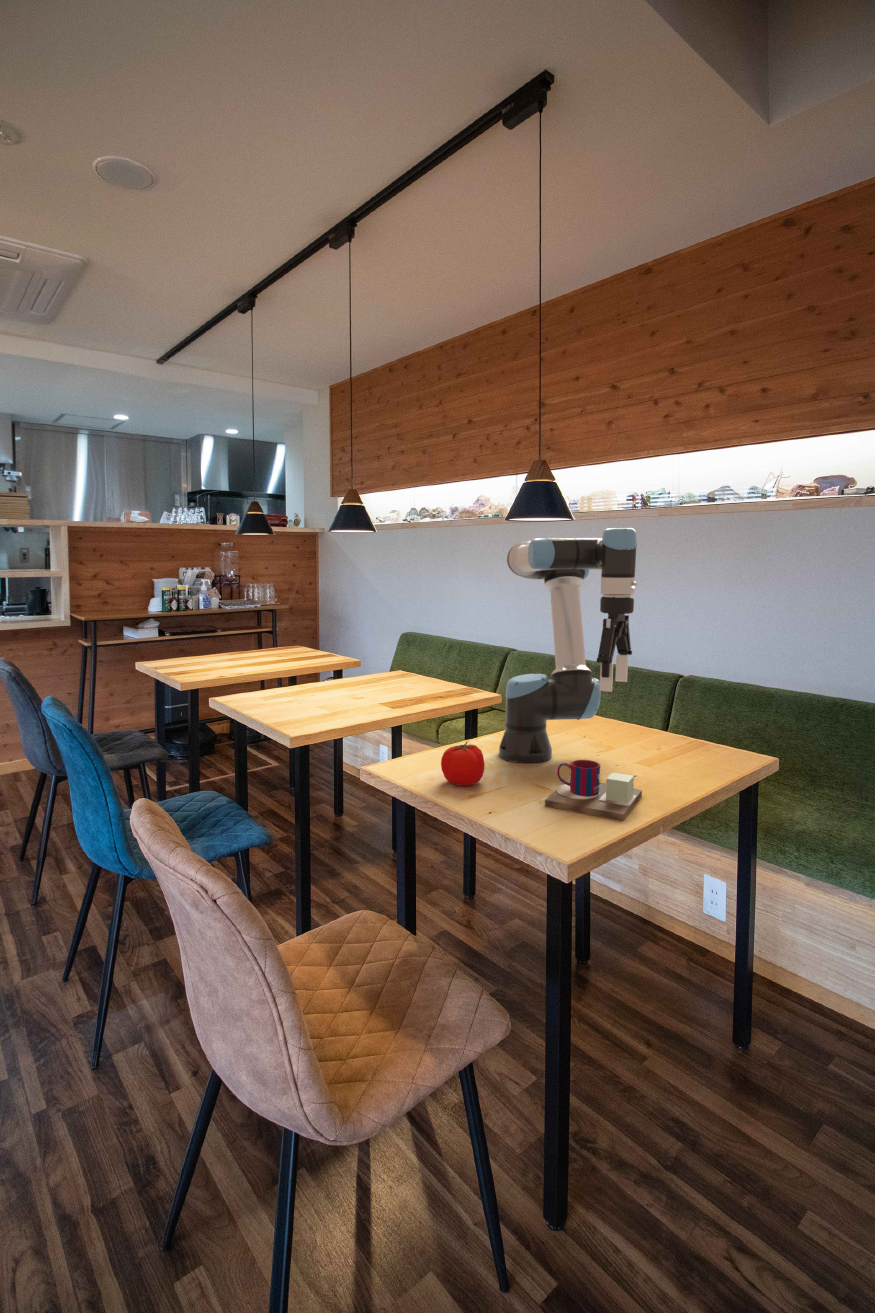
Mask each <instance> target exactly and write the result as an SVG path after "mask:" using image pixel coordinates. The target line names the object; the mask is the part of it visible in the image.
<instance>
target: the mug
mask: <svg viewBox="0 0 875 1313" xmlns="http://www.w3.org/2000/svg"><path fill="white" fill-rule="evenodd" d="M562 766H566V767H568V768H569V769H570V777H569V778H570V783H569V782H566V781H567V780H565V779H564V778H562V776H561V774H560V773H561V772H560V769H561V767H562ZM556 773H557V778H558V780H559V781H560V782H561V783H562V784H563V783H564V784H566V785H568V786H570V791H571V792H572V793H573V794H575V795H579V796H595V795H598V794H599V783H601V782H600V779H601V778H600V777H601V764H600V763H599V762H597V761H594V760H588V759H576V760H573V761H571V763H568V762H567V763H566V762H562V763H560V764H559V765H558V767H557V770H556Z"/></svg>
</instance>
